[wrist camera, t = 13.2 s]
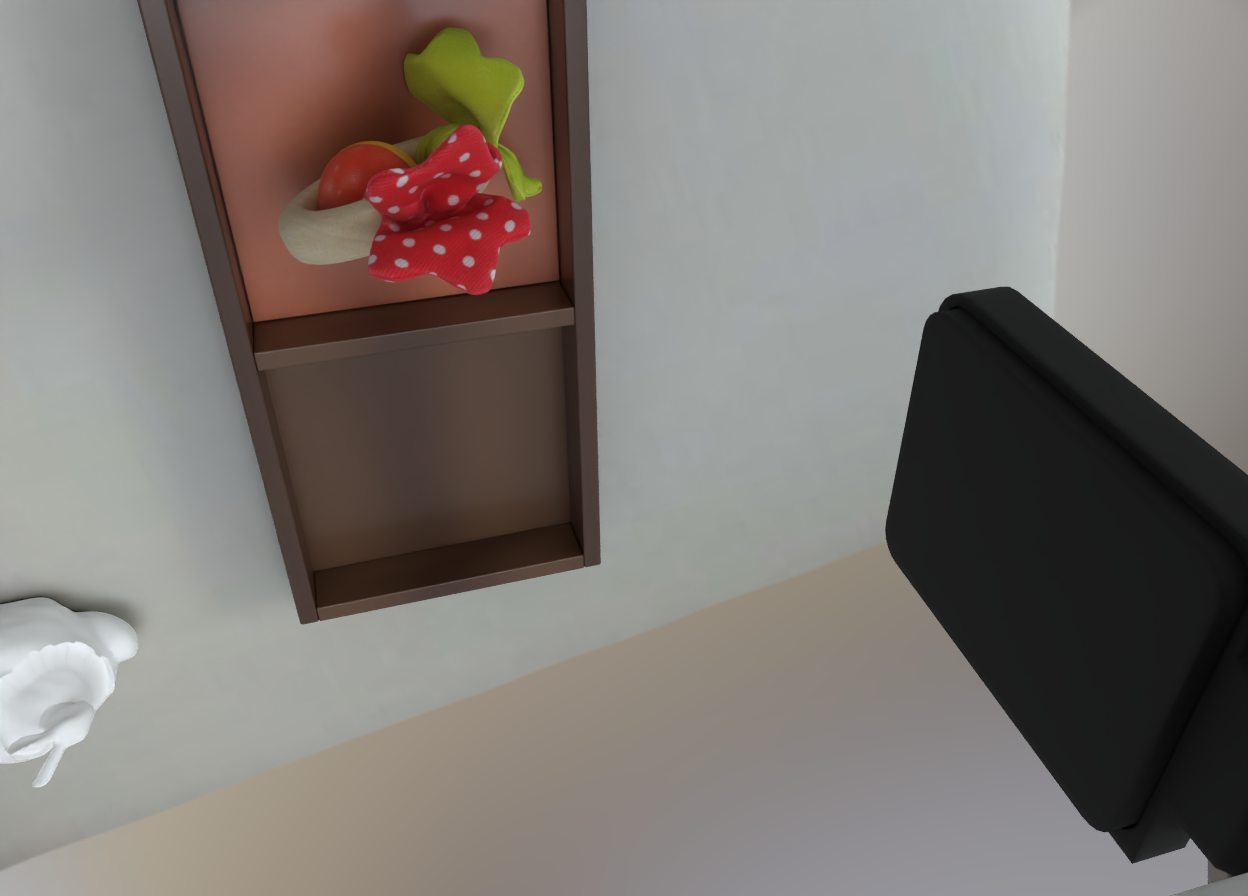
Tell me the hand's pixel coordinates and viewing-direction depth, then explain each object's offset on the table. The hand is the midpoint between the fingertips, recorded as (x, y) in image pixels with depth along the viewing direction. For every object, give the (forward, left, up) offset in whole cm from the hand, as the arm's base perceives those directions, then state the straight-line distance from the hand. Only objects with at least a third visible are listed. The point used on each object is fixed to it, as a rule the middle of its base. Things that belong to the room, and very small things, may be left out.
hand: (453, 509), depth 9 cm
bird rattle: (+6, +4, -30) cm, 31 cm away
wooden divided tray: (+13, +5, -31) cm, 34 cm away
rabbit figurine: (+30, -10, -31) cm, 45 cm away
